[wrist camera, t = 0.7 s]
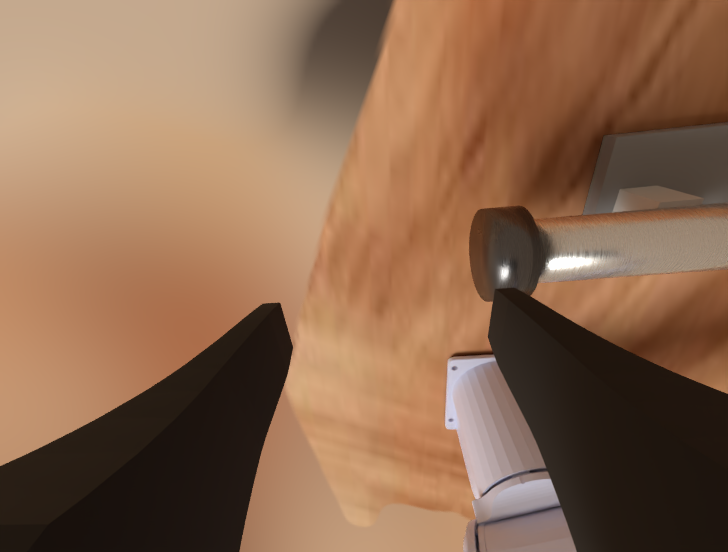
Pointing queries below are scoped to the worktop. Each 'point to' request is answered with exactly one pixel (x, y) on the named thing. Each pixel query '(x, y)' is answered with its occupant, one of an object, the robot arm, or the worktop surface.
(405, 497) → the worktop surface
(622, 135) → the shaft stand
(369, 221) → the worktop surface
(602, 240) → the shaft
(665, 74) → the worktop surface
